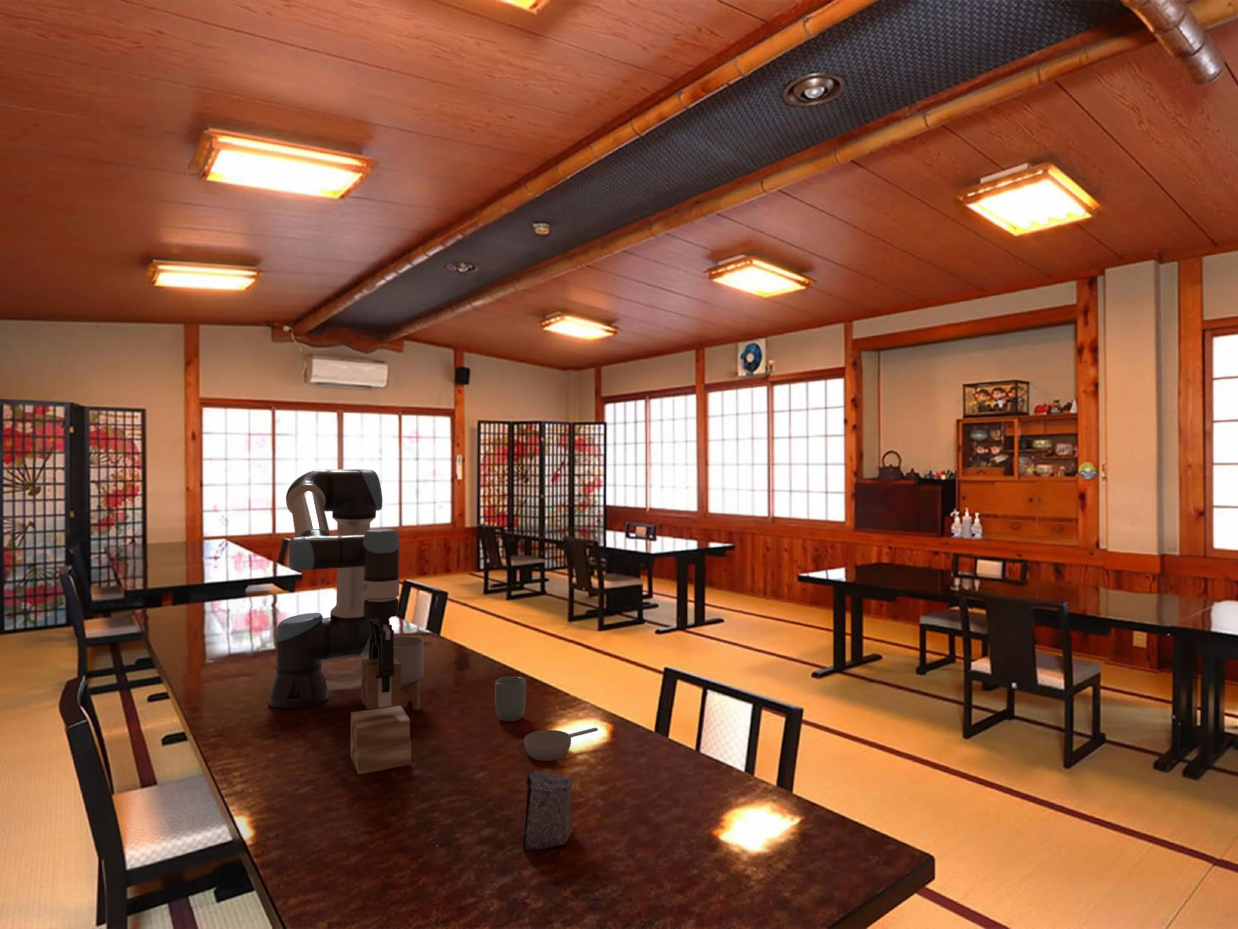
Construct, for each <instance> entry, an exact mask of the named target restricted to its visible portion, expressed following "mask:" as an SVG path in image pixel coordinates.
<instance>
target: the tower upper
mask: <svg viewBox="0 0 1238 929" xmlns="http://www.w3.org/2000/svg"><path fill="white" fill-rule="evenodd" d="M350 735H351V737H352V739H353V742H354V745H355V747H356V750H357V752H360V751H366V750H372V749H377V748H383V747H389V746H395V745H401V744H407V743H410V742H411V720H410V718H409V716H408V715H407V714H406V711H405V710H404V708H403V707H402V705H401V704H399V705H392V706H389V707H386V708H381V707H379V708H373V709H367V710H359V711H354V712H353V711H352V712H350Z"/></svg>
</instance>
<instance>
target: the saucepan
mask: <svg viewBox="0 0 1238 929" xmlns="http://www.w3.org/2000/svg"><path fill="white" fill-rule="evenodd" d="M598 730H599V729H598V728H597V727H591V728H588V729H585V730H581V731H576V732H572V733H567V732H566V731H563V730H556V729H545V730H544V729H543V730H537V731H534V732H531V733H528V734H527V735H525V737H524V739H523V741H524V742H523V743H524V749H525V751H526V752H527V754H528V756H529V757H530V758H531V759H534V760H537V761H543V762H549V761H556V760H561V759H562V758H564V757H566V755H567V753H568V752H569V750H570V749H571V748H570V747H571V745H572V738H575V737H578V736H583V735H586V734H590V733H594V732H597V731H598Z"/></svg>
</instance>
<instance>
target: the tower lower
mask: <svg viewBox="0 0 1238 929" xmlns="http://www.w3.org/2000/svg"><path fill="white" fill-rule="evenodd" d="M349 742H350V743H349V744H350V749H349V750H350V758H351V761H352V763H353V765H354V767H355V770H356V771H357V774H358V775H361V774H362V775H363V774H368V773H373V772H379V771H384V770H389V769H393V768H399V767H404V766H409V765H412V742H411V741H410V743H407V744H401V745H395V746H389V747H383V748H377V749H372V750H366V751H360V752H357V750H356V747H355V745H354V742H353V739H352V737H351V734H350V740H349Z"/></svg>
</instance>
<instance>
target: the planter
mask: <svg viewBox="0 0 1238 929" xmlns="http://www.w3.org/2000/svg"><path fill="white" fill-rule="evenodd" d="M393 645H394V657H395V658H396V659H397V660H398V661H399V662H400V663H401V692H403V693H404V694H406V695H407V697H406V698H407V701H408V702H411V704H412V711H419V710H421V683H422V682H421V680H422V679H423V677H424V639H423V638H422V637H419V636H414V635H399V636H396V635H395V636H394V639H393ZM386 707H390V706H386ZM386 707H380V708H386Z"/></svg>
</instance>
